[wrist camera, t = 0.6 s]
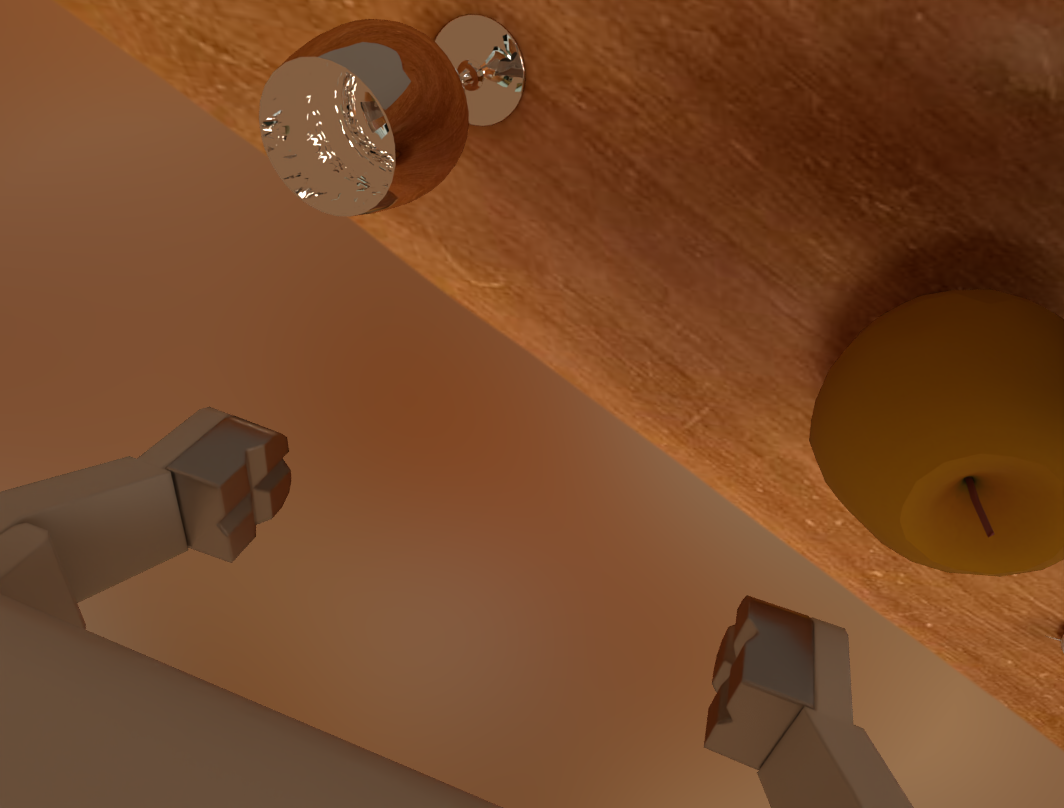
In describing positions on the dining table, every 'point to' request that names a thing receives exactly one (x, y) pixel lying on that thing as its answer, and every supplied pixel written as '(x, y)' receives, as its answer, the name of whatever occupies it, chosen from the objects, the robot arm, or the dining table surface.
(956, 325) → the apple
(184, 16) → the dining table surface
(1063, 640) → the small white plastic part
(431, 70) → the wineglass
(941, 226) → the dining table surface
